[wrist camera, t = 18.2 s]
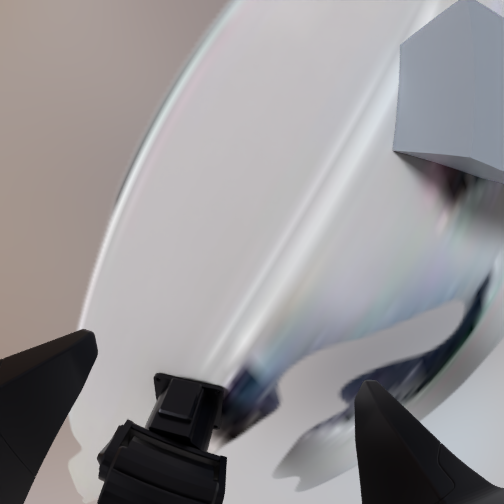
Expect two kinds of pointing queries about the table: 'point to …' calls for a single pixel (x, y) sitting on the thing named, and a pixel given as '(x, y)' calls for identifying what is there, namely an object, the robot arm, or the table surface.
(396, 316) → the table surface
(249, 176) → the table surface
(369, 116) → the table surface
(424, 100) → the grey cube
